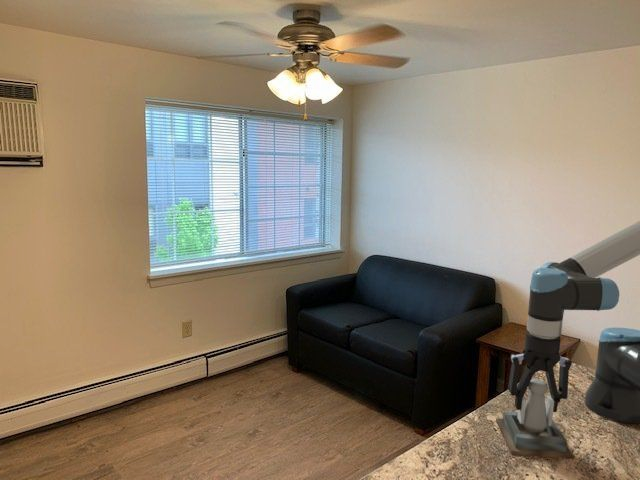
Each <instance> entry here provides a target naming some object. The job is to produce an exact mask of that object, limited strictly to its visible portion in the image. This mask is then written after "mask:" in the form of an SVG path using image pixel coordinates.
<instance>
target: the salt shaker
mask: <svg viewBox="0 0 640 480" xmlns="http://www.w3.org/2000/svg"><path fill="white" fill-rule="evenodd" d="M548 389H549V386H548V383H546V382H545V381H544V380H541V379H538V378H532V379H531V381H530V383H529V385H528V388H527V390H528V391H529V394H528V397H527V399H526V407H525V417H524V424H523V426H524V429H525V431H527V432H528V433H530V434H534V435H540V434H541V433H542V432H543V431H544V430H545V428H546V427H547V416H546V397H545V394H546V393H547V392H548Z"/></svg>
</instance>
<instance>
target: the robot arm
mask: <svg viewBox="0 0 640 480" xmlns="http://www.w3.org/2000/svg"><path fill="white" fill-rule="evenodd" d="M638 256H640V220H638V221H636V222H635V223H632V224H630V225H628V226H627V227H625V228H623V229H621V230H620V231H618V232H616V233H613V234H612V235H610V236H608V237H606V238H605V239H602V240H601V241H599V242H596V243H595V244H593V245H591V246H589V247H587V248H585V249H584V250H581V251H580V252H578V253H576V254H574V255H572V256H570V257H569V258H567V259H565V260H563V261H561V262H556V261H555V262H554V261H549V262H545V263H544V264H542V265H541V266H540V267H539V268H537V269H535V270H533V272H532V276H531V280H530V285H529V299H528V300H529V301H528V311H527V320H526V321H527V322H526V330H527V331H526V332H525V341H524V349H523V351H522V352H521V353H519V354H515V353H511V354H510V360H511V367H510V374H509V380H508V387H507V390H508V392H509V394H510V395H511V396H512V397H514V398H515V399H514V406H515V408H516V410H517V413H518V416H517V418H518V420H519V422H520V424H524V417H525V407H526V403H527V399H526V397H525V394H526V392H527V390H528V385H529V383H530V381H531V380H532V379H533V377H534V375H535V374H536V372H543V373H545V375H546V380H547V387H548V389H549V390H548V391H549V394H550V395H546V399H545V405H546V416H547V425H548V426H552V420H553V415H554V413H557V411H558V406H559V405H558V404H560V402H561V401H562V399H563V400H567V399H568V394H569V392H568V391H569V375H570V374H569V373H570V372H569V371H570V369H571V367H572V365H573V362H572V361H571V360H570V358H569V357H567V356H561V355H560V349H561V347H560V346H561V341H562V339H561V338H562V337H561V335H562V331H563V330H562V329H563V321H564V313H565V311H597V312H600V311H607V310H609V311H610V310H613V309H614V308H615V307H616V306H617V305H618V304H619V302H620V289H619V287H618V284H617V283H616V281H614V280H613V279H611V278H607V277H606V278H604V277H601V275H604V274H606V273H607V272H609V271H612V270H614V269H615V268H617V267H620V266H621V265H623V264H625V263H627V262H629V261H632V259H634V258H636V257H638ZM598 339H599V340H598V349H597V359H596V365H595V373H594V377H593V380H592V381H591V383H590V385H589V387H588V388H587V390H586V392H585V393H584V403H585V405H586V407H587V408H588V409H589V410H591V411H592V412H594V413H595V414H597V415H599V416H601V417H604V419H605V418H606V419H609V420H612V421H615V422H620V423H624V424H638V423H637V422H640V329H635V328H627V327H626V328H625V327H607V328H604V329H603V330H601V331H600V336H599V338H598ZM523 360H524V361H525V363H526V364H525V366H524V371H523V373H522V376H521V377H520V379H519V376H520V369H521V365H522V362H523ZM557 364H559V373H558V387H557V383H556V378H555V372H554V371H555V370H554V367H555V366H556V365H557Z"/></svg>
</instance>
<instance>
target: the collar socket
mask: <svg viewBox="0 0 640 480" xmlns="http://www.w3.org/2000/svg"><path fill="white" fill-rule="evenodd" d="M517 416H518V411H517V412H516V411H514V412H513V411H503V413H502V418H501V417H500V418H497V417H496V418H495V422H496V424H497V426H498V429H499V432H500V433H501V435H502V438H503V439H504V442H505V444H506V446H507V448H508V450H509V453H510V454H511V455H519V456H520V455H521V456H529V457H530V456H531V457H545V458H556V459H567V460H568V459H570V460H574V459H575V458H574V457H575V455H574V453H572V451H571V449H570V448H569V446H568V440H567V439H566V437H565V436H564V434H563V432H561V430H560V428H559V427H558V425H557V424H556V423H555V421H554V420H553V419H552V426H548V425H547V427H546V428H545V430H544V431H543V432H542V433H541V434H540V435H534V434H530V433H528V432H527V431H525V429H524V426H523V424H520V422H519V420H518V418H517Z"/></svg>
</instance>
